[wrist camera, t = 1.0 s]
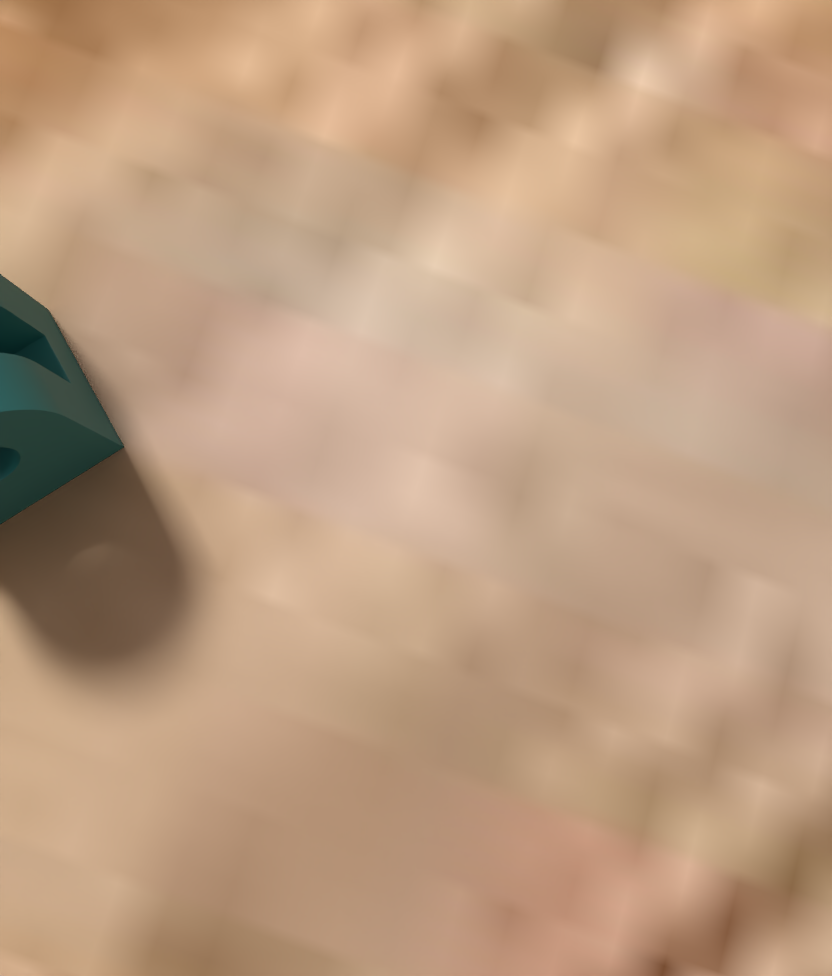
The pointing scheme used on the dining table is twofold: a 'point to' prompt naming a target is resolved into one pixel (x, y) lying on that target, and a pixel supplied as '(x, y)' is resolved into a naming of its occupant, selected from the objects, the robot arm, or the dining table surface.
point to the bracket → (43, 407)
